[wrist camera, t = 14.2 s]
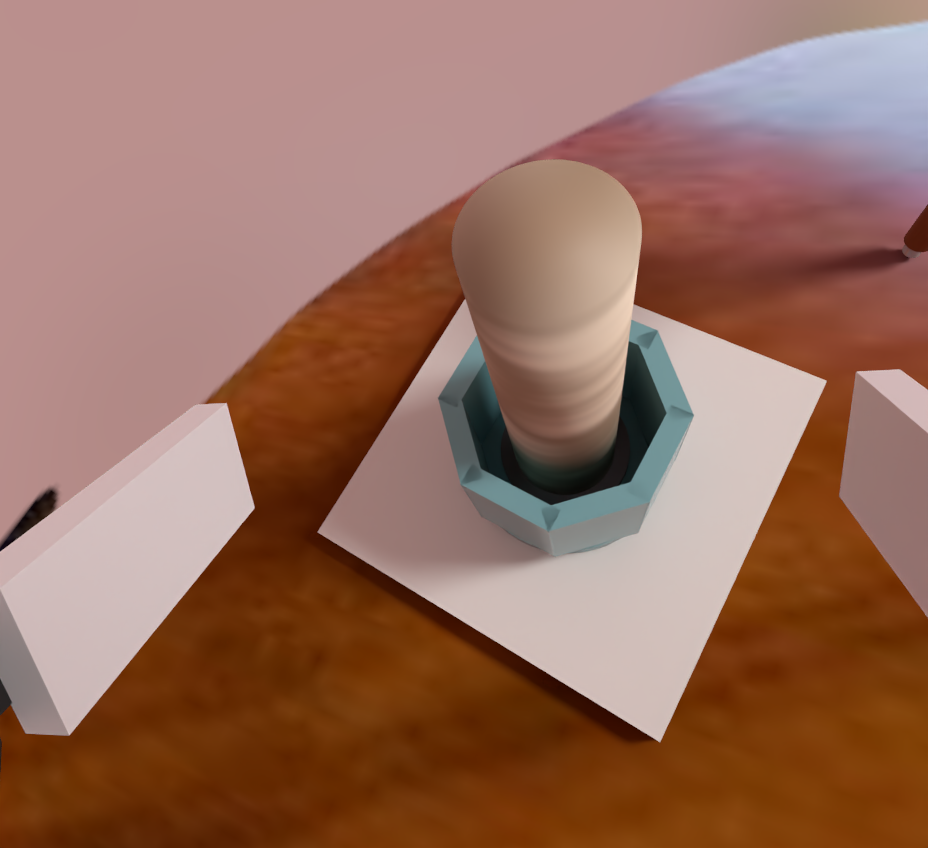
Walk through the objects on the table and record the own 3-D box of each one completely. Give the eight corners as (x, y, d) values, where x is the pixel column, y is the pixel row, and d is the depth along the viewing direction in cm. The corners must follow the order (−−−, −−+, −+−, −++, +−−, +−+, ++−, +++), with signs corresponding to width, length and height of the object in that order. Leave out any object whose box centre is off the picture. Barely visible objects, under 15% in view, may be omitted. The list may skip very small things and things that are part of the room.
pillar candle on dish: (650, 426, 27) (714, 180, 14) (592, 536, 26) (600, 385, 13) (539, 375, 29) (498, 112, 15) (480, 476, 28) (379, 287, 14)
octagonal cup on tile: (818, 390, 29) (887, 307, 22) (657, 739, 25) (682, 762, 19) (498, 261, 34) (478, 163, 27) (325, 536, 30) (254, 498, 24)
